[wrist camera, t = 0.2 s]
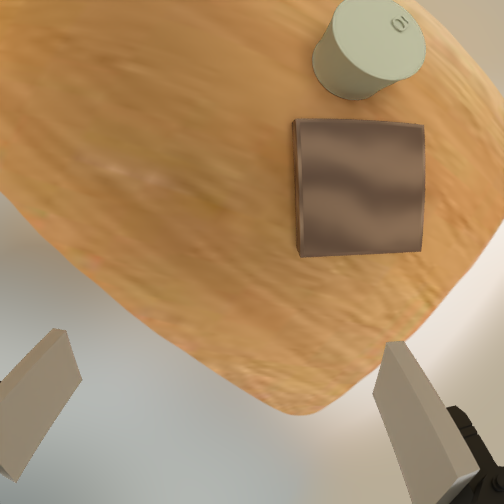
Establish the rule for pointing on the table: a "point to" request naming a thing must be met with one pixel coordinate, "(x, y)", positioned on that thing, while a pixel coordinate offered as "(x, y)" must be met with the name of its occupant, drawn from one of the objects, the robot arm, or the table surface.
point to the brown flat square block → (358, 186)
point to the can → (368, 48)
